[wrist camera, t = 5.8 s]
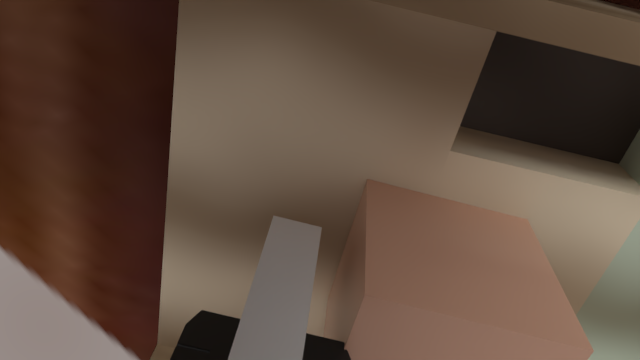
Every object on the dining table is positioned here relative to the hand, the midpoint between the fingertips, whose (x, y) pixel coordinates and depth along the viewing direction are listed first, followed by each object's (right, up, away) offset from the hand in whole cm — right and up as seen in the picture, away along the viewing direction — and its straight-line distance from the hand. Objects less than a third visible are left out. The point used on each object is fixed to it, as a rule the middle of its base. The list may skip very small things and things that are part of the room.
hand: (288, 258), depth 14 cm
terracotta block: (+4, 0, +1) cm, 4 cm away
